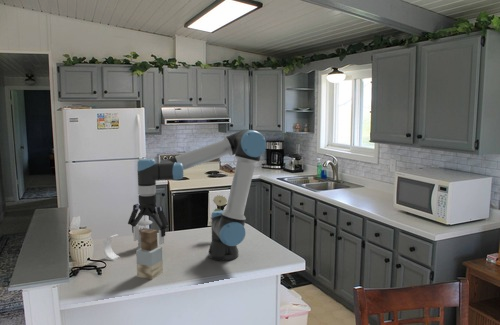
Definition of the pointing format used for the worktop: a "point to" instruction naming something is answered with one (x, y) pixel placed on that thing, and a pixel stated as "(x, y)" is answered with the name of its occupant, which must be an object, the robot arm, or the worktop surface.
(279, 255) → the worktop surface
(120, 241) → the worktop surface
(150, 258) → the grey block
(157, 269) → the beech block
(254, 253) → the worktop surface
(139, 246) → the french press
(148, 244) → the walnut block
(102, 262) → the worktop surface
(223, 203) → the flower in vase
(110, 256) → the white curved piece
